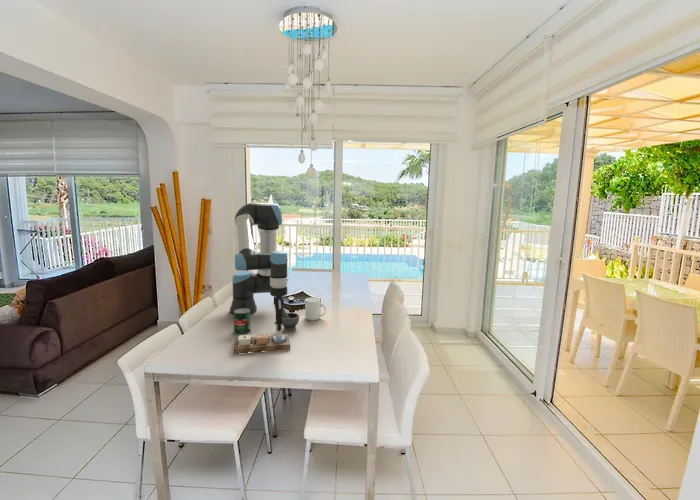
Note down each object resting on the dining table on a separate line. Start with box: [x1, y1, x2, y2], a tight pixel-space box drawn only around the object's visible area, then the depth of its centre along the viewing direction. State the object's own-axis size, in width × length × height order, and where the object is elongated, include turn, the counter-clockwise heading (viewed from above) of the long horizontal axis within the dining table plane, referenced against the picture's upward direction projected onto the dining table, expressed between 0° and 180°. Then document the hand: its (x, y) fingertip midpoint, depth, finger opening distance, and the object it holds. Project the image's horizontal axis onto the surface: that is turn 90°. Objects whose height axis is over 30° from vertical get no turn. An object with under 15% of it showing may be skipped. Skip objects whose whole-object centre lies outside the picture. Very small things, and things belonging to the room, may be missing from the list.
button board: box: [232, 333, 291, 355], centre depth 158 cm, size 24×12×2 cm, turn 106°
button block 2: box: [255, 332, 269, 344], centre depth 158 cm, size 5×5×3 cm
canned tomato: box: [233, 308, 252, 336], centre depth 174 cm, size 8×8×11 cm
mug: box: [304, 297, 327, 321], centre depth 197 cm, size 9×12×11 cm
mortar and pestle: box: [282, 307, 300, 332], centre depth 180 cm, size 11×9×12 cm
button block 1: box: [238, 334, 252, 346], centre depth 156 cm, size 5×5×3 cm
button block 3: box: [273, 334, 285, 343], centre depth 160 cm, size 5×5×3 cm
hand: (279, 336), depth 160 cm, fingers closed
